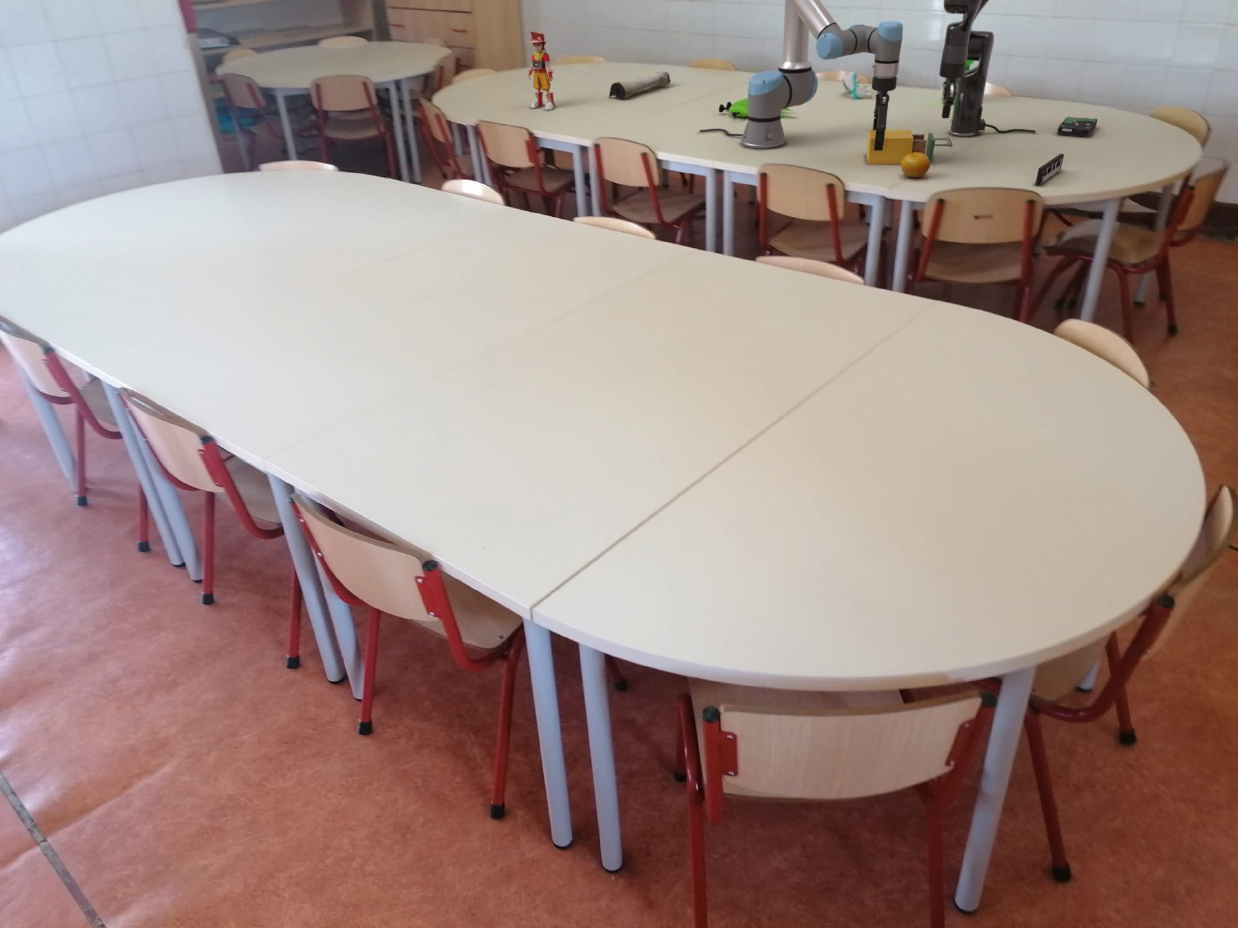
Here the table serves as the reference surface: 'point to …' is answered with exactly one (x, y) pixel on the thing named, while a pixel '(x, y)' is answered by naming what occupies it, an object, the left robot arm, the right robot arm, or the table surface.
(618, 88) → the rolled mat
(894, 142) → the cabinet
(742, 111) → the toy
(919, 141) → the drawer
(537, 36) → the toy
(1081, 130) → the disk drive
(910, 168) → the fruit
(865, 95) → the anatomical model
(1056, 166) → the midi keyboard
